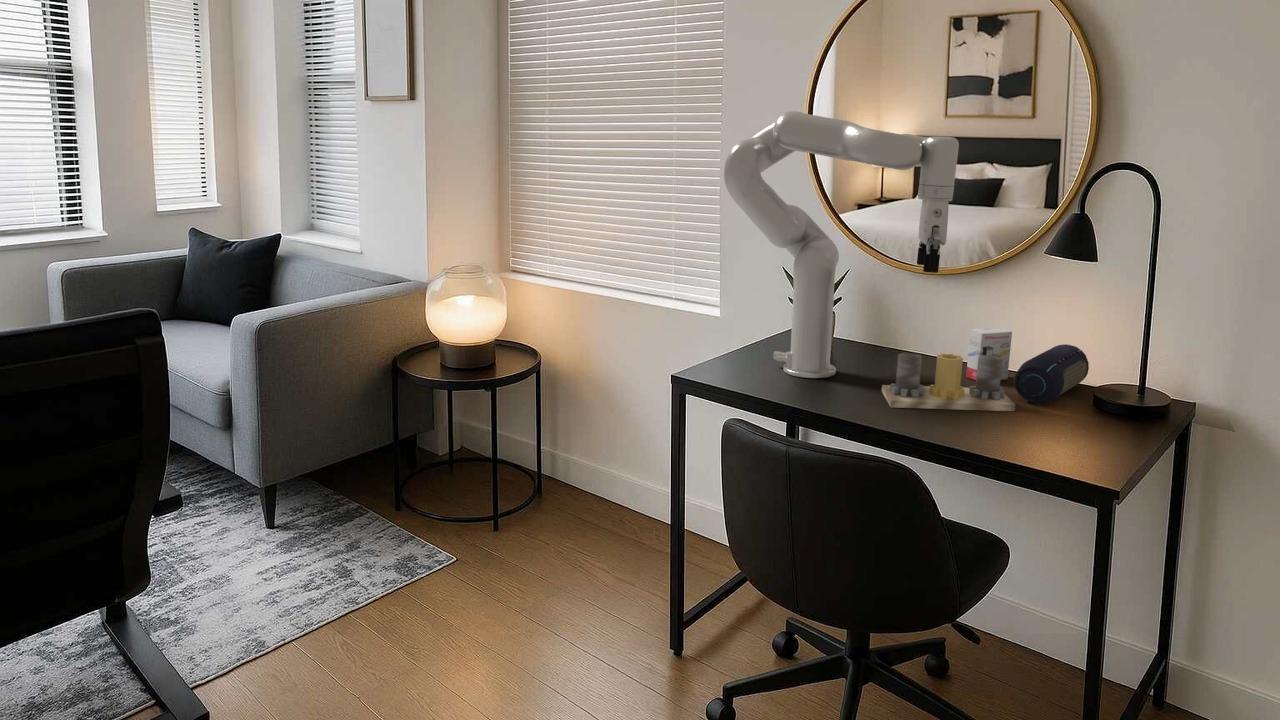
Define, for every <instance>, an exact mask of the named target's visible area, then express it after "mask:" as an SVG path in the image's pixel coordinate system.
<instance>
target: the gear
mask: <svg viewBox="0 0 1280 720" xmlns="http://www.w3.org/2000/svg"><path fill="white" fill-rule="evenodd" d="M963 361H964V358H963V357H962V356H961V355H958V354H953V353H940V354H938V355H937V356H936V365H935V367H936V368H935V374H934V375H935V377H934V384H933V383H932V384H930V385H929V386H930V389H929V393H931V395H932V396H940V397H941V398H943V399H947V398H953V399H959V397H964V390H965V389H963V386H962V385H961V381H962V372H963Z"/></svg>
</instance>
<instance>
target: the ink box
mask: <svg viewBox="0 0 1280 720" xmlns="http://www.w3.org/2000/svg"><path fill="white" fill-rule="evenodd" d="M1012 337H1013V331H1011V330H1008V329H1005V328H1002V327H984V328H983V327H982V328H972V329H969V341H968V342H969V343H968V351H967V352H968V353H967V364H966V371H965V372H966V373H965V377H966V378H968V379H971V380H973V381H976V377H977V367H978V357H979V356H982V355H991V356H997V357H1001V358H1002V359H1003V363H1002V372H1001V381H1002V380H1007V379H1008V376H1009V366H1010V356H1011V348H1012V347H1011V346H1012Z"/></svg>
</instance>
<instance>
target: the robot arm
mask: <svg viewBox="0 0 1280 720" xmlns="http://www.w3.org/2000/svg"><path fill="white" fill-rule="evenodd" d="M959 147H960V143H959V140H958V139H957V138H955V137H952V136H951V137H950V136H938V135H937V136H920V135H916V134H909V133H901V134H900V133H897V132H896V133H895V132H889V131H884V130H878V129H874V128H871V127H870V128H868V127H865V126H861V125H859V124H858V123H855V122H852V121H848V120H844V119H838V118H831V117H825V116H819V115H815V114H809V113H803V112H801V111H796V110H795V111H794V110H791V111H786V112H784V113H782V114H780V115H779V116H778V117H777V118H776V120H775V121H774V122H773V123H771V124H770V125H768V126H767V127H765V128H764V129H762V130H760V131H759V132H758V133H756V134H754V135H753V136H751V137H750V138H745V139H743V140H740V141H738V142H737V143H736V144H734V145H733V147H732V148H731V149H730V150H729V152H728V154H727V157H726V159H725V162H724V167H723V168H724V169H723V178H724V184H725V187H726V190H727V192H728V193H729V195H730V197H731V198H732V200H733V201H734V202H735V204H736V205H737V206H738V207H739V208H740V209H741V210H742V211H743V212H744V214H745V215H746V216H747V217H748V218H749V219H750V221H752V223H753V224H754V225H755V226H756V227H757V228H758V229H759V230H760V231H761V233H762V234H763V235H764V236H765V237H766V238H767V240H768V241H769V242H770V243H772V245H774V246H775V247H778V248H781V249H786V250H787V252H789V254H790V255H791V256H792V257H794V261H793V268H792V269H793V272H792V273H793V277H792V279H793V281H792V282H793V283H792V284H793V286H792V287H793V288H792V289H793V290H792V291H793V293H792V295H793V296H792V316H791V334H790V335H791V336H790V350H789V351H786V352H782V351H777V350H776V351H775V350H774V351H773V354H772V355H773V356H772V358H773V359H774V360H775V361H776V362H784V363H785V364H783V372H784V373H785V374H788V375H790V376H794V377H799V378H804V379H805V378H806V379H823V378H829V377H833V376H835V374H836V373H837V368H836V366H834V365H833V364H831V351H832V335H833V333H832V332H833V320H834V319H833V317H834V302H835V301H834V300H835V279H836V269H837V265H838V262H839V257H840V255H839V250H838V247H837V245H836V244H835V243H834V241H833V240H832V239H831V238H830V237H829V236H828V234H826V233H825V231H824V230H822V228H821V227H820V226H819V225H818V224H817V223H816V222H815V221H814V220H813V219H812V217H810V216H809V215H808V213H807V212H806V211H804V210H803V209H802V208H800V207H799V206H797V205H794V204H787V203H786V201H784V200H783V199H782V198H781V196H780V195H779V194H777V192H776V191H775V190H774V189H773V187H771V186H770V185H769V183H767V182H766V181H765V179H763V177H762V172H764V171H766V170H767V169H769V168H772V166H774V165H775V164H777V163H778V162H780V161H782V160H783V159H785V158H786V157H787V158H788V156H790V155H791V154H793V153H794V152H801V153H807V154H813V155H816V156H817V155H818V156H823V157H828V158H834V159H838V160H841V161H849V162H851V161H852V162H857V163H863V164H867V165H870V166H877V167H881V168H882V167H883V168H887V169H893V170H898V171H906V170H909V169H910V170H911V169H912V168H916V167H917V168H918V167H920V174H919V181H918V182H919V185H918V192H917V193H918V194H917V199H918V200H921V206H920V207H921V208H920V215H919V224H918V240H919V243H918V250H917V258H916V264H917V266H923V269H922V270H923V272H924V273H933V274H934V273H936V274H937V273H938V272H939V268H940V259H941V246H945V245H946V243H947V238H948V237H947V235H948V224H949V202H952V201H953V200H954V199H953V198H954V192H955V191H954V189H955V180H956V173H957V164H958V156H959Z"/></svg>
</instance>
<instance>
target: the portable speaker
mask: <svg viewBox="0 0 1280 720" xmlns="http://www.w3.org/2000/svg"><path fill="white" fill-rule="evenodd" d="M1089 368H1090V364H1089V360H1088V357H1087V355H1086V354H1085V352H1084V351H1083V350H1081V349H1080V348H1079V347H1078V346H1075V345H1071V344H1058V345H1055V346H1054V347H1051V348H1049V349H1047V350H1046V351H1043V352H1042V353H1040V354H1037V355H1036V356H1034V357H1032V358H1030V359H1028V360H1026V361H1025V362H1023V363H1022V364H1021V366H1020V367H1019V368H1018V370H1017V371H1016V372H1015V375H1014V380H1013V381H1014V388H1015V390H1016V391H1017V393H1018V395H1019V396H1021V398H1022V399H1024V400H1026V401H1028V402H1031V403H1036V404H1042V403H1043V404H1044V403H1049V402H1051V401H1053V400H1054V399H1057V398H1058V397H1059V396H1060V395H1062V394H1064V393H1066V392H1067V391H1069V390H1071V389H1073V388H1074V387H1075V386H1078V385H1079V384H1080V383H1081V382H1082V381H1084V380H1085V379H1086V377H1087V376H1088V374H1089Z"/></svg>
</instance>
